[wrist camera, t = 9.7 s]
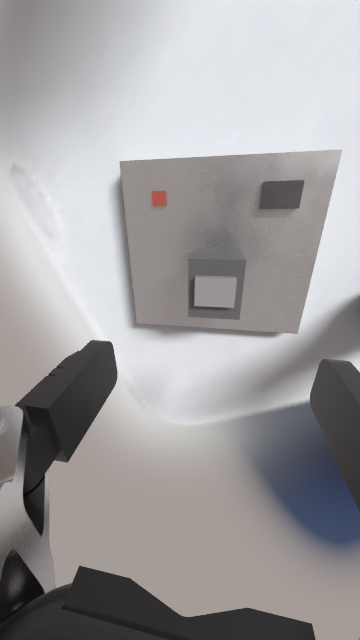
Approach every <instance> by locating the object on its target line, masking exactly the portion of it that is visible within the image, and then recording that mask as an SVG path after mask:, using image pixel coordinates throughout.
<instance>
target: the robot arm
mask: <svg viewBox="0 0 360 640" xmlns="http://www.w3.org/2000/svg"><path fill="white" fill-rule="evenodd" d="M116 381H117V367H116V361H115V355H114V349H113V345H112V343H111V342H109V341H97V340H92V341H90V342H89V343H88V344H87V345H86V346H85V347H84V348H83V349H82V350H81V351H77V352H76V353H74V354H72V355H70V356H68V357H67V358H65V359H64V360H63V361H62V362H61V363H60V364H59V365H58V366H57V368H55V369H53V370H52V371H51V372H50V373H49V375H48V376H46V377H45V378H44V379H43V380H42V381H40V382H39V383H38V384H37V385H36V386H35V387H34V388H33V389H32V390H31V391H30V392H29V393H28V394H27V395H25V397H23V398H22V399H21V400H20V401H19V402H18V403H17V404H16V405H15V406H4V407H0V640H315V635H314V631H313V627H312V624H311V623H307V622H303V621H299V620H295V619H291V618H287V617H283V616H278V615H275V614H271V613H266V612H262V611H258V610H255V609H251V608H243V609H237V610H231V611H225V612H219V613H213V614H207V615H201V616H195V617H184V616H181V615H179V614H178V613H176V612H175V611H173V610H172V609H171V608H169V607H168V606H166V605H165V604H164V603H163V602H161V601H160V600H159V599H157V598H156V597H154V596H153V595H152V594H150V593H149V592H148V591H146V590H145V589H144V588H142V587H141V586H139V585H138V584H137V583H135V582H134V581H133V580H131V579H130V578H126V577H122V576H118V575H114V574H110V573H106V572H102V571H98V570H94V569H90V568H86V567H82V566H79V568H78V570H77V573H76V575H75V578H74V580H73V583H71V584H68V585H64V586H61V587H58V588H55V573H54V564H53V558H52V554H51V550H50V542H49V487H50V486H49V485H50V484H49V483H50V479H49V478H50V476H49V471H48V469H49V467H50V466H51V464H52V462H53V461H54V460H57V461H62V462H68V461H69V460H70V458H71V456H72V455H73V453H74V452H75V450H76V448H77V447H78V445H79V443H80V442H81V440H82V439H83V437H84V435H85V434H86V432H87V430H88V429H89V427H90V426H91V424H92V422H93V421H94V419H95V417H96V416H97V414H98V413H99V411H100V409H101V408H102V406H103V404H104V403H105V401H106V399H107V398H108V396H109V395H110V393H111V391H112V390H113V388H114V386H115V384H116ZM310 403H311V408H312V410H313V412H314V415H315V417H316V419H317V421H318V423H319V425H320V428H321V430H322V432H323V434H324V436H325V438H326V440H327V442H328V445H329V447H330V449H331V451H332V453H333V455H334V458H335V460H336V462H337V464H338V466H339V468H340V470H341V473H342V475H343V477H344V479H345V481H346V483H347V486H348V488H349V490H350V492H351V494H352V496H353V498H354V501H355V503H356V505H357V507H358V509H359V511H360V372H359V371H358V370H357V369H356V368H355V367H354V366H353V364H352V363H351V362H349V361H341V360H328V359H324V360H322V361H321V362H320V364H319V367H318V371H317V374H316V377H315V380H314V383H313V386H312V390H311V393H310ZM359 640H360V638H359Z"/></svg>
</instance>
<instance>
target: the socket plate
mask: <svg viewBox="0 0 360 640" xmlns="http://www.w3.org/2000/svg"><path fill="white" fill-rule="evenodd" d="M341 152H342V150H325V151H306V152H287V153H268V154H249V155H230V156H211V157H192V158H173V159H154V160H135V161H120V171H121V180H122V190H123V199H124V209H125V218H126V228H127V237H128V247H129V257H130V266H131V276H132V285H133V295H134V304H135V314H136V323H138V324H153V325H169V326H185V327H200V328H216V329H231V330H247V331H262V332H278V333H293V334H298V330H299V326H300V321H301V317H302V313H303V309H304V305H305V301H306V297H307V293H308V288H309V284H310V280H311V276H312V272H313V268H314V264H315V260H316V255H317V251H318V247H319V243H320V239H321V235H322V231H323V227H324V222H325V218H326V214H327V210H328V206H329V202H330V198H331V194H332V189H333V185H334V181H335V177H336V173H337V169H338V165H339V161H340V156H341ZM195 250H241V251H242V253H243V255H244V257H245V258H246V268H245V277H244V285H243V294H242V303H241V311H240V320H231V319H214V318H198V317H188V259H189V257H190V256H191V255H192V253H193V252H194V251H195Z"/></svg>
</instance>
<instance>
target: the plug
mask: <svg viewBox="0 0 360 640" xmlns="http://www.w3.org/2000/svg"><path fill="white" fill-rule="evenodd" d="M245 268H246V258H245V257H244V255H243V253H242V251H241V250H195V251H194V252H193V253H192V255H191V256H190V257H189V259H188V317H198V318H214V319H231V320H240V311H241V303H242V294H243V285H244V277H245Z"/></svg>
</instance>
